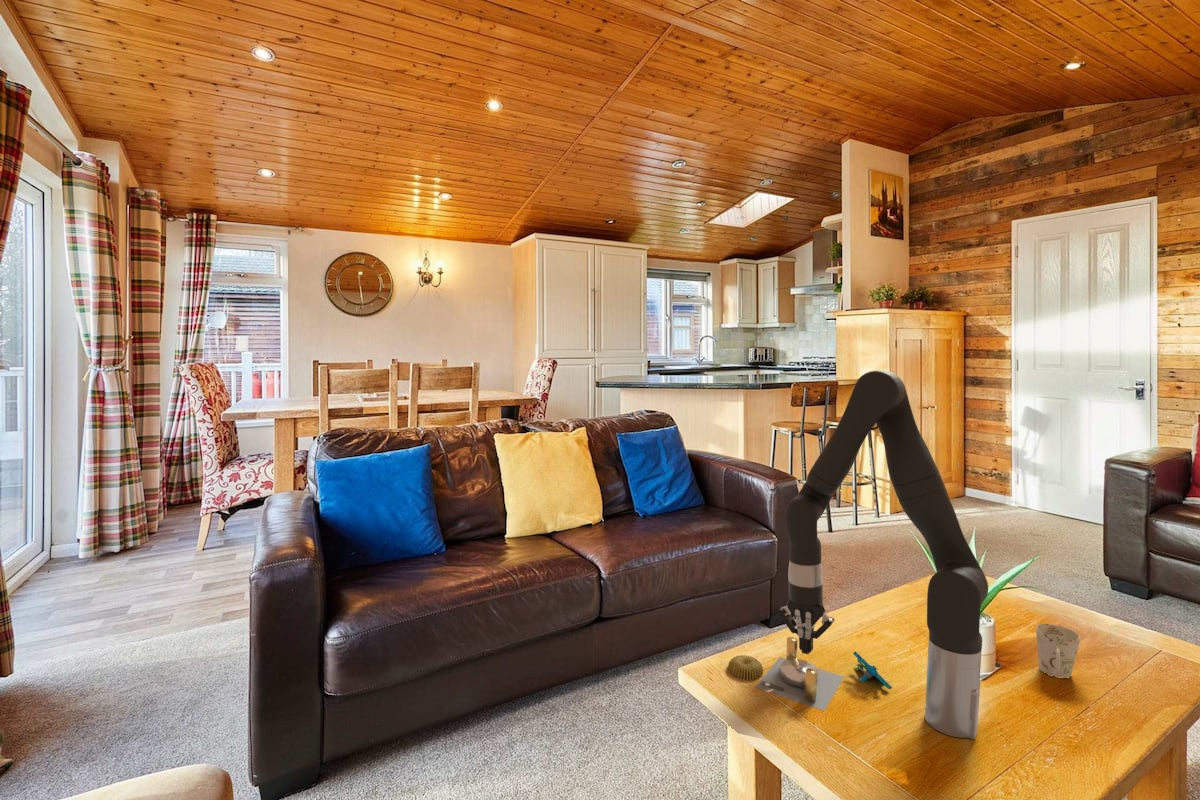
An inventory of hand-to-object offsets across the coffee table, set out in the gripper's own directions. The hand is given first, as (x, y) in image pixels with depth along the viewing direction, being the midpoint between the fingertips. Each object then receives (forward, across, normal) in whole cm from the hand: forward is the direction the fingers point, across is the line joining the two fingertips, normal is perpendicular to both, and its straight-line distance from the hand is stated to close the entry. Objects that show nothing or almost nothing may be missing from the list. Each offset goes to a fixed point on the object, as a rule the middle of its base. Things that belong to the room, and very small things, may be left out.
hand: (806, 652), depth 141 cm
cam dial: (+4, -1, +6) cm, 7 cm away
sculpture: (+6, +11, +9) cm, 15 cm away
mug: (+8, -46, -35) cm, 59 cm away
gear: (+6, -13, -5) cm, 15 cm away
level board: (+6, -1, +6) cm, 8 cm away
